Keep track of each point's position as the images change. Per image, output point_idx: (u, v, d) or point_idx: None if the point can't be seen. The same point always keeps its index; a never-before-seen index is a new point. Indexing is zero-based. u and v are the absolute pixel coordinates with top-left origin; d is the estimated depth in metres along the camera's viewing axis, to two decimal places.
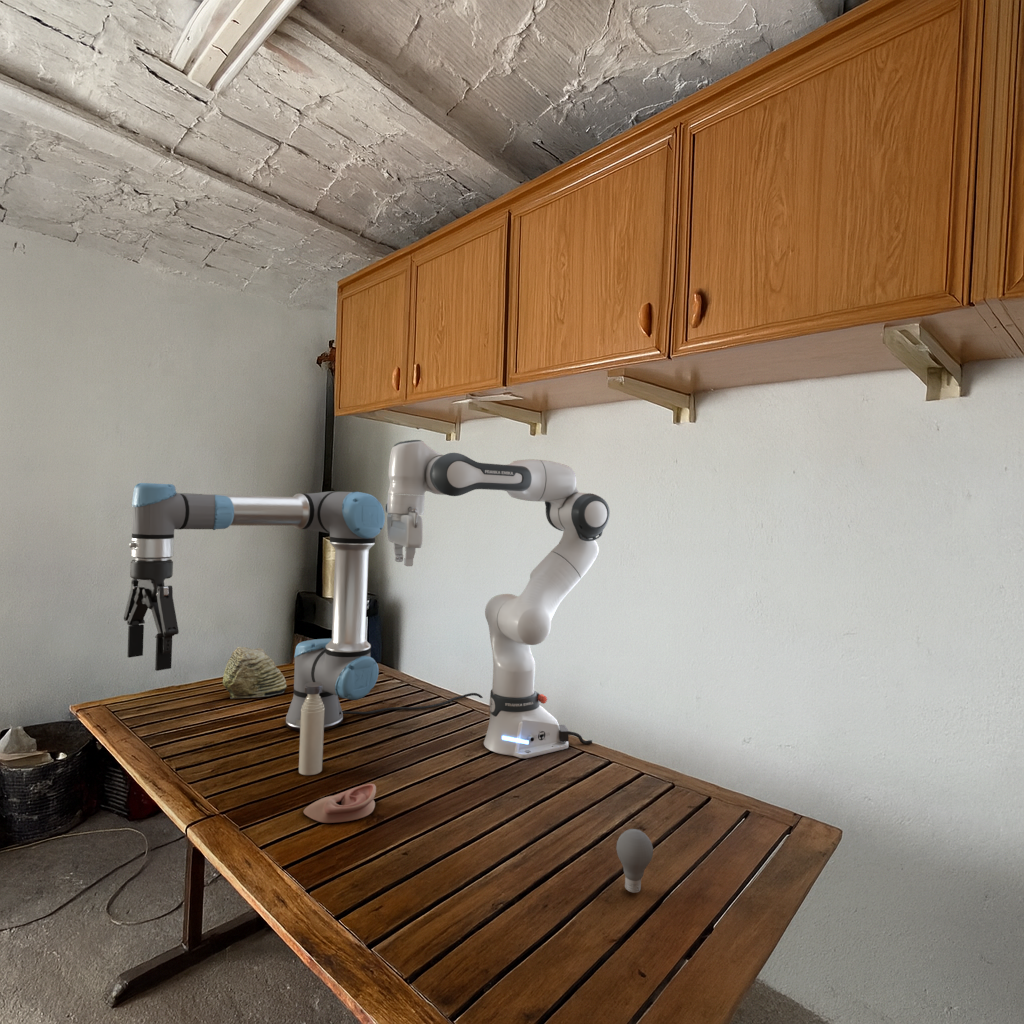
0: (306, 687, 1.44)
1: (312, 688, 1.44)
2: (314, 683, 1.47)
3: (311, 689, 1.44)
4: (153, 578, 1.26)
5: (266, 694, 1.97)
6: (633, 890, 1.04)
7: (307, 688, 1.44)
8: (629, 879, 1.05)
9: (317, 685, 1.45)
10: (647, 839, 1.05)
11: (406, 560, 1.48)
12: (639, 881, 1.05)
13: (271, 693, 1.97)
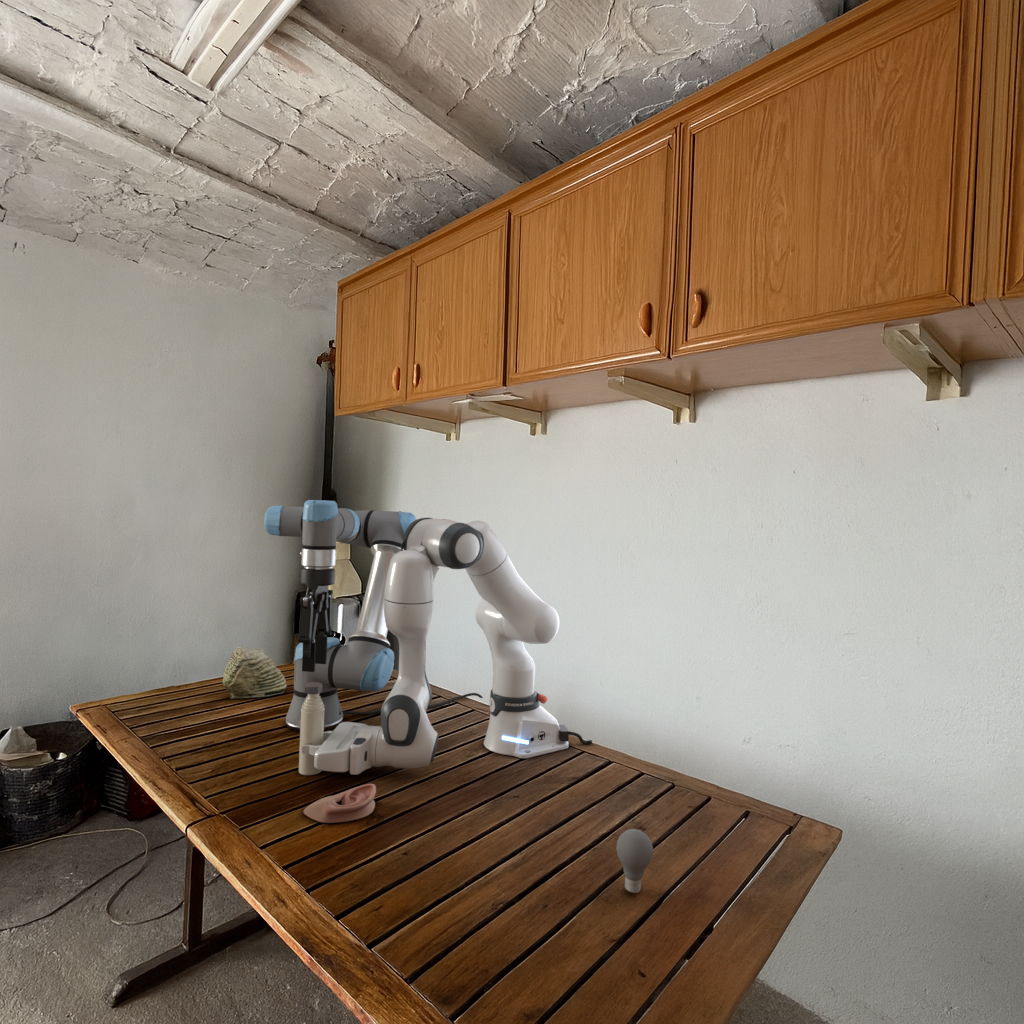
0: (306, 687, 1.44)
1: (312, 688, 1.44)
2: (314, 683, 1.47)
3: (312, 689, 1.44)
4: (306, 584, 1.42)
5: (266, 694, 1.97)
6: (633, 890, 1.04)
7: (307, 688, 1.44)
8: (629, 879, 1.05)
9: (317, 685, 1.45)
10: (647, 839, 1.05)
11: None
12: (639, 881, 1.05)
13: (271, 693, 1.97)
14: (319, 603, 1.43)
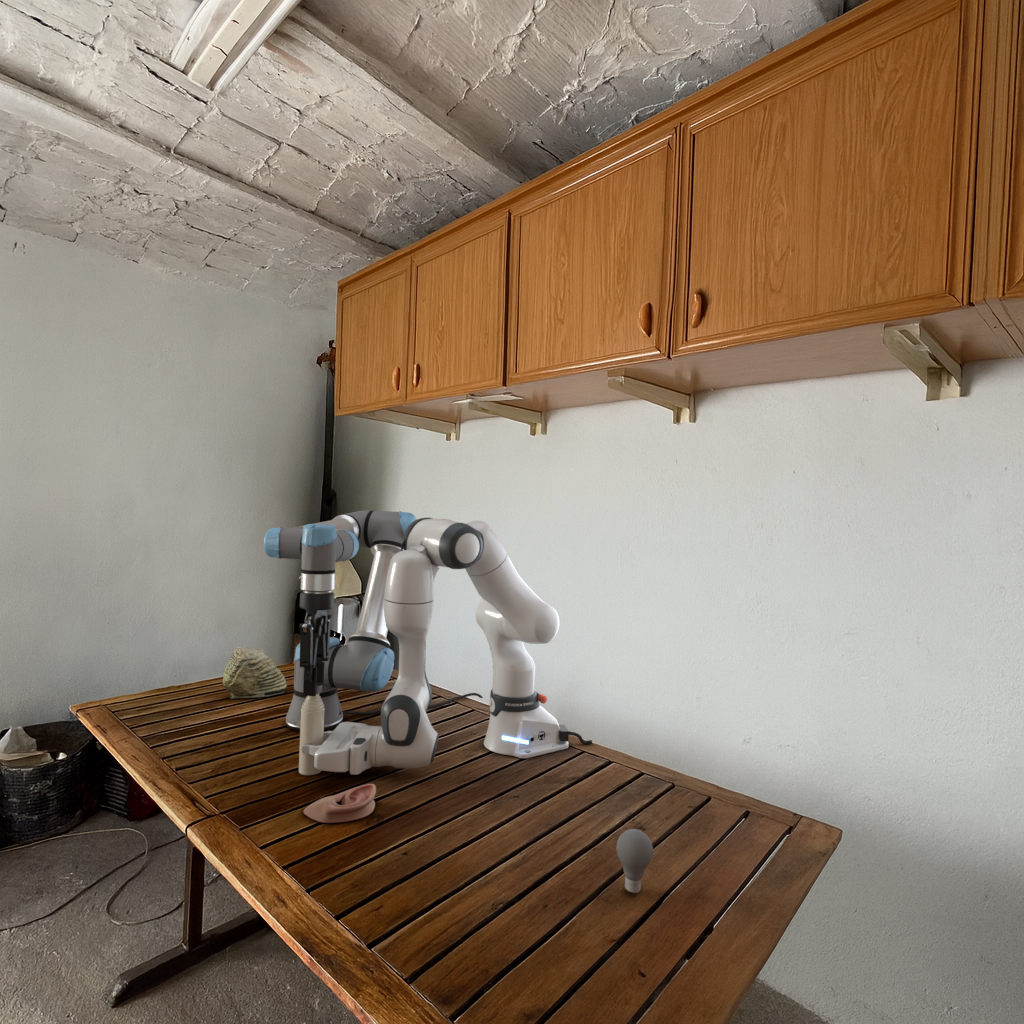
0: None
1: None
2: None
3: None
4: (305, 608, 1.42)
5: (266, 694, 1.97)
6: (633, 890, 1.04)
7: None
8: (629, 879, 1.05)
9: (317, 685, 1.45)
10: (647, 839, 1.05)
11: None
12: (639, 881, 1.05)
13: (271, 693, 1.97)
14: (318, 628, 1.43)
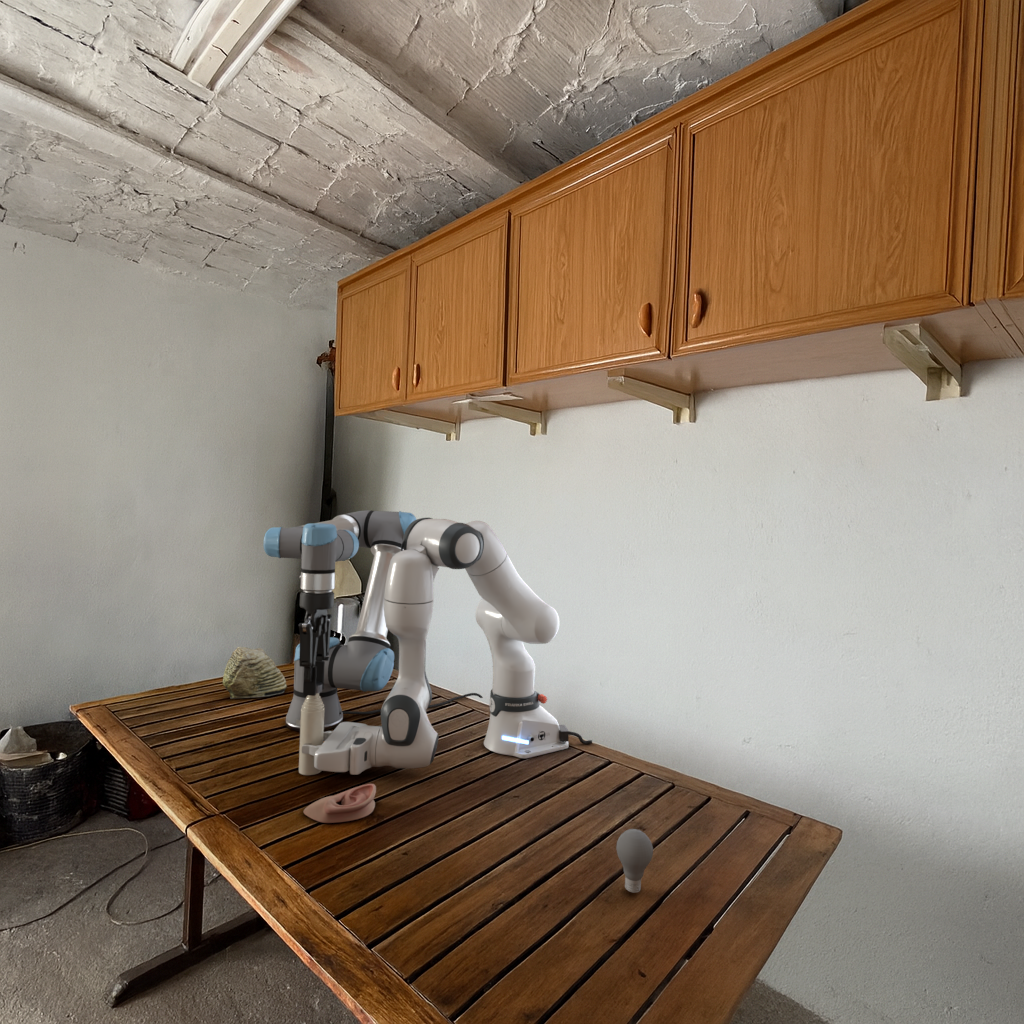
0: (321, 685, 1.46)
1: None
2: None
3: None
4: (305, 608, 1.42)
5: (266, 694, 1.97)
6: (633, 890, 1.04)
7: None
8: (629, 879, 1.05)
9: None
10: (647, 839, 1.05)
11: None
12: (639, 881, 1.05)
13: (271, 693, 1.97)
14: (318, 627, 1.43)
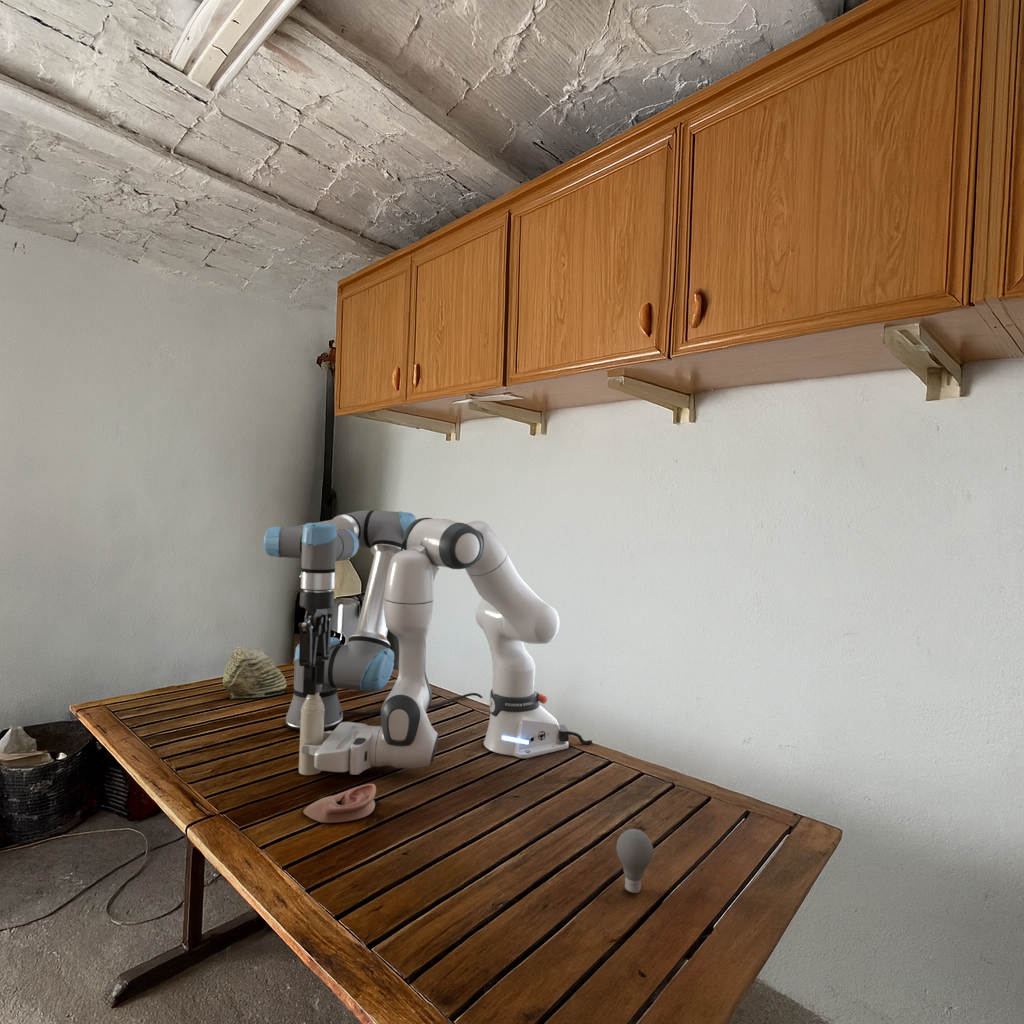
0: None
1: None
2: (317, 683, 1.46)
3: None
4: (305, 607, 1.42)
5: (266, 694, 1.97)
6: (633, 890, 1.04)
7: None
8: (629, 879, 1.05)
9: None
10: (647, 839, 1.05)
11: None
12: (639, 881, 1.05)
13: (271, 693, 1.97)
14: (318, 627, 1.43)
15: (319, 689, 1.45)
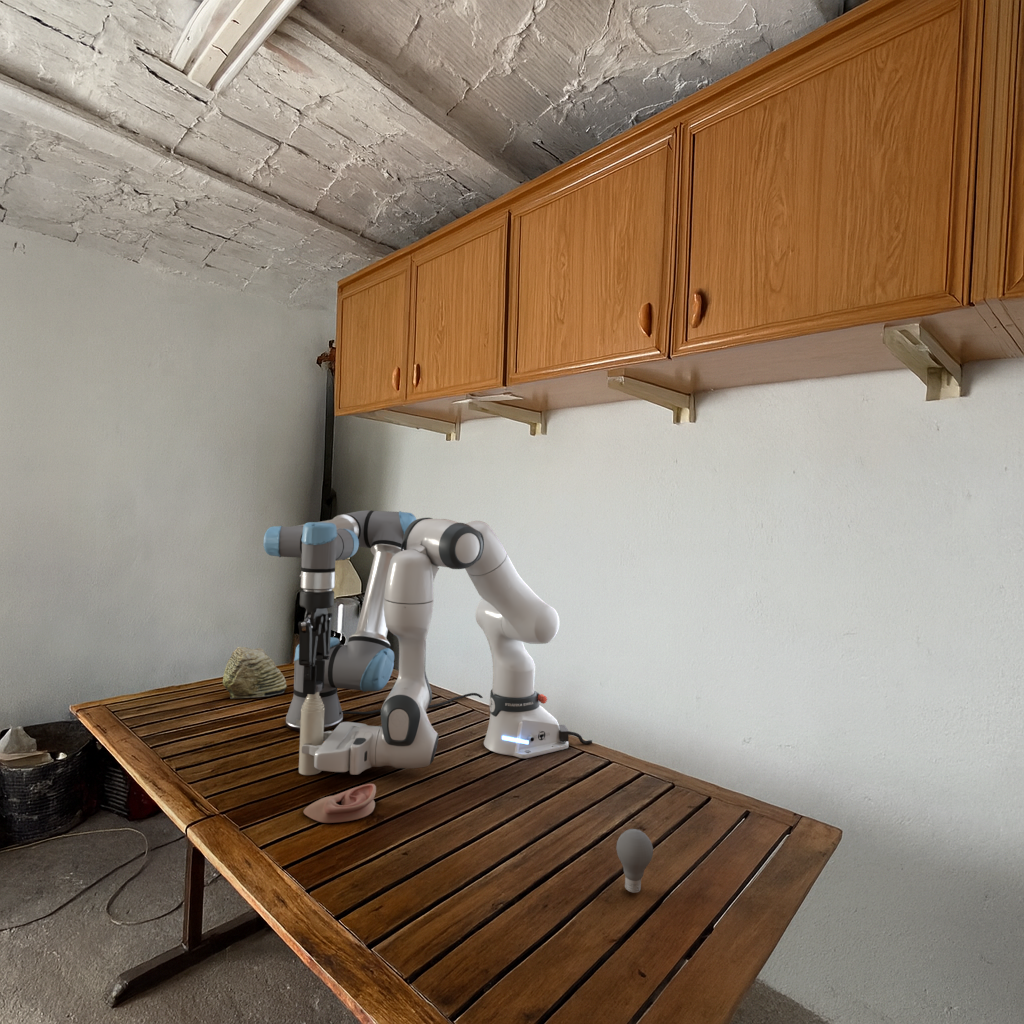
0: None
1: None
2: None
3: None
4: (305, 607, 1.42)
5: (266, 694, 1.97)
6: (633, 890, 1.04)
7: None
8: (629, 879, 1.05)
9: (318, 683, 1.46)
10: (647, 839, 1.05)
11: None
12: (639, 881, 1.05)
13: (271, 693, 1.97)
14: (318, 626, 1.43)
15: None
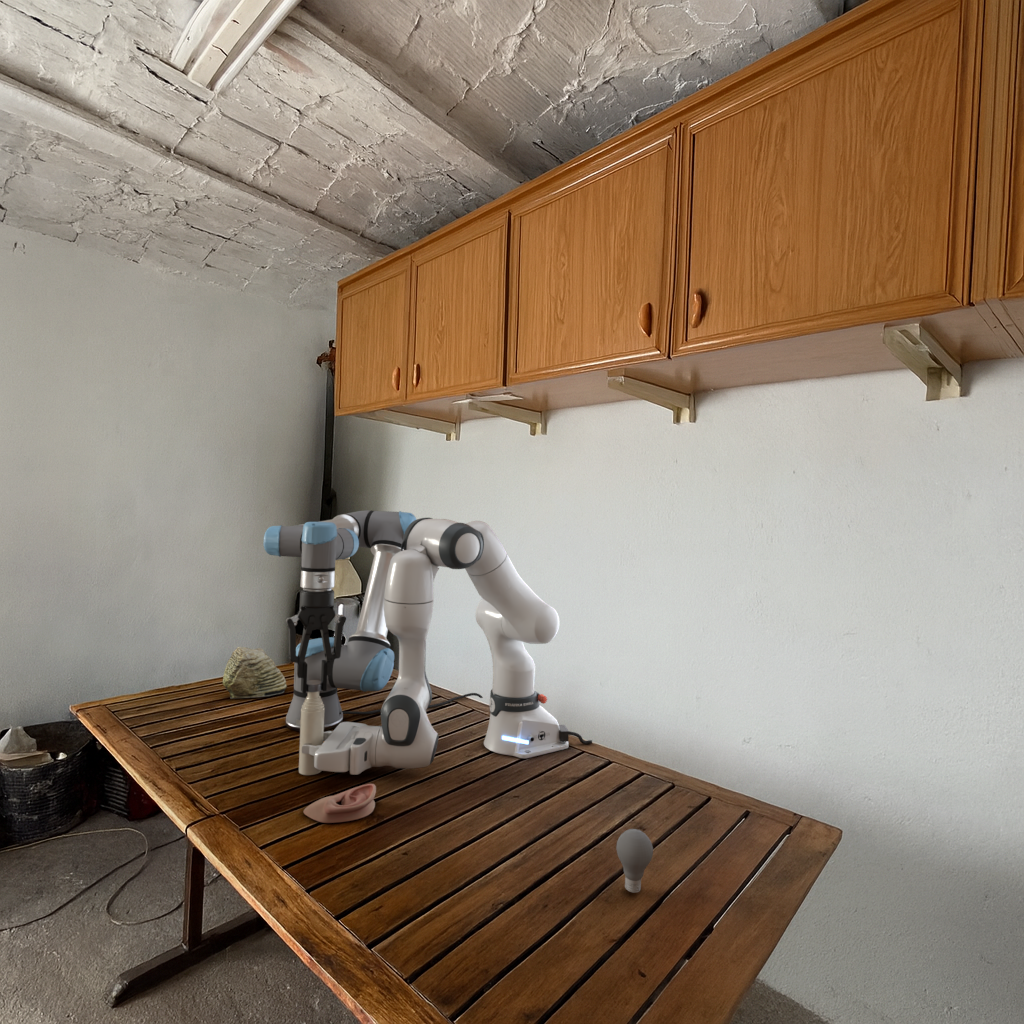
0: None
1: None
2: (311, 683, 1.45)
3: None
4: (333, 604, 1.46)
5: (266, 694, 1.97)
6: (633, 890, 1.04)
7: None
8: (629, 879, 1.05)
9: (313, 680, 1.47)
10: (647, 839, 1.05)
11: None
12: (639, 881, 1.05)
13: (271, 693, 1.97)
14: None
15: None
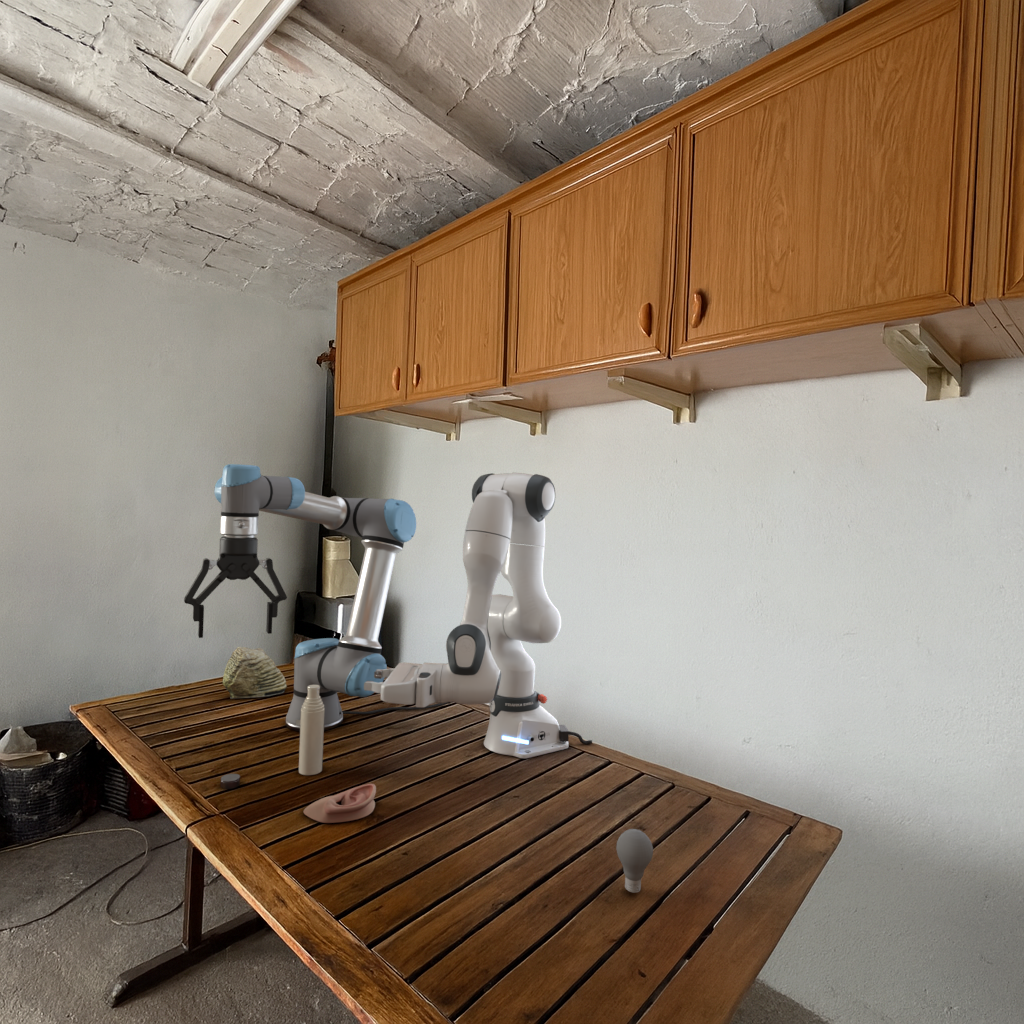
0: (239, 778, 1.38)
1: None
2: (227, 778, 1.36)
3: None
4: None
5: (266, 694, 1.97)
6: (633, 890, 1.04)
7: (239, 778, 1.38)
8: (629, 879, 1.05)
9: (230, 775, 1.38)
10: (647, 839, 1.05)
11: None
12: (639, 881, 1.05)
13: (271, 693, 1.97)
14: None
15: (221, 784, 1.36)
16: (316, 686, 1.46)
